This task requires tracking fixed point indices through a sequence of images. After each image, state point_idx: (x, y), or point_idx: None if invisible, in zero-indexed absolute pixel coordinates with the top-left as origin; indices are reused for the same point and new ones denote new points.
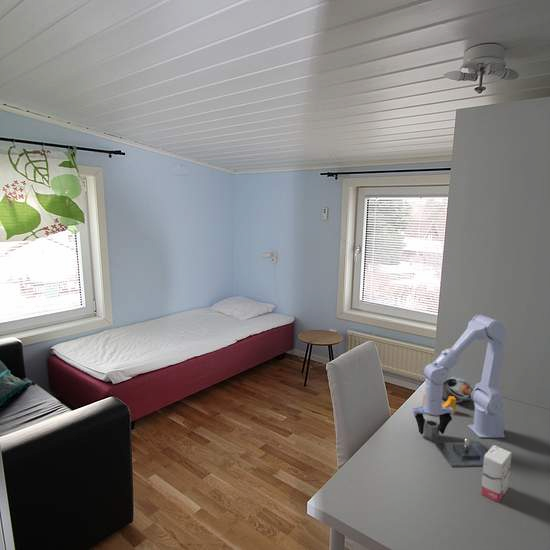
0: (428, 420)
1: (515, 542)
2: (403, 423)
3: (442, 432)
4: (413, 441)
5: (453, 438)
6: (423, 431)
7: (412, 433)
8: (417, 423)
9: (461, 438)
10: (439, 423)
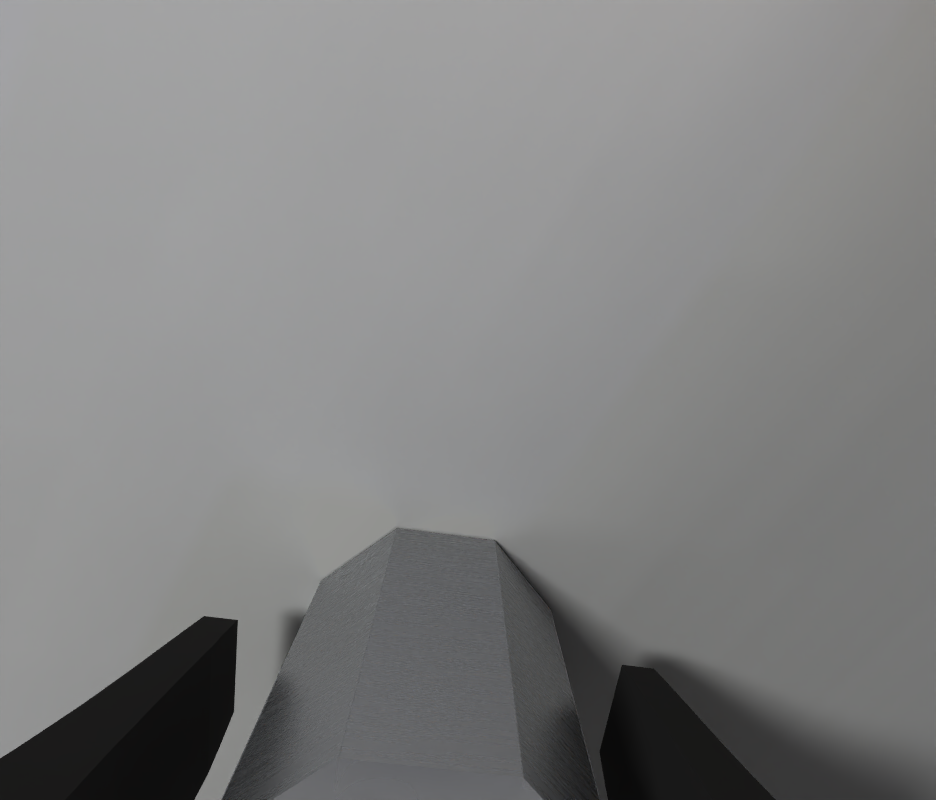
0: (397, 795)
1: None
2: (92, 132)
3: (610, 794)
4: (68, 708)
5: (749, 735)
6: (302, 622)
7: (142, 513)
8: (39, 743)
9: (869, 752)
10: (700, 779)
